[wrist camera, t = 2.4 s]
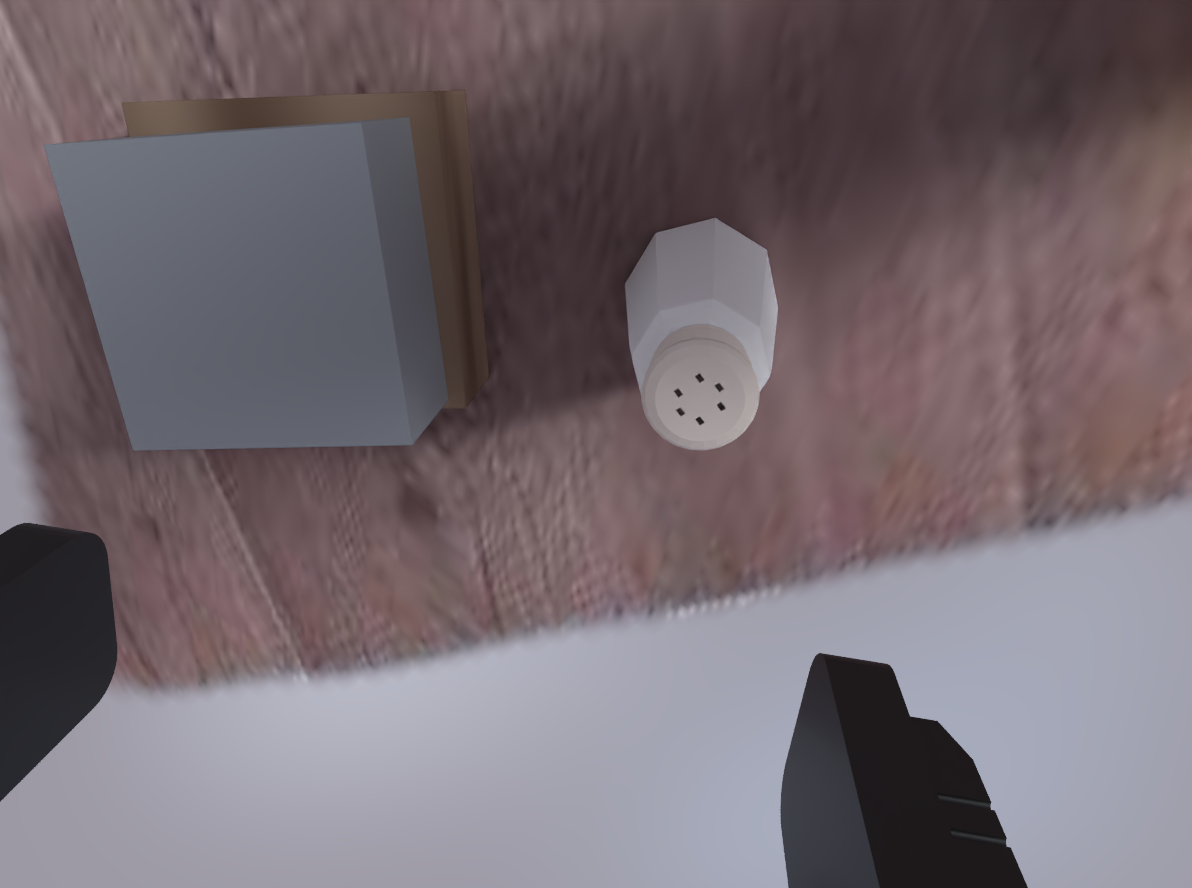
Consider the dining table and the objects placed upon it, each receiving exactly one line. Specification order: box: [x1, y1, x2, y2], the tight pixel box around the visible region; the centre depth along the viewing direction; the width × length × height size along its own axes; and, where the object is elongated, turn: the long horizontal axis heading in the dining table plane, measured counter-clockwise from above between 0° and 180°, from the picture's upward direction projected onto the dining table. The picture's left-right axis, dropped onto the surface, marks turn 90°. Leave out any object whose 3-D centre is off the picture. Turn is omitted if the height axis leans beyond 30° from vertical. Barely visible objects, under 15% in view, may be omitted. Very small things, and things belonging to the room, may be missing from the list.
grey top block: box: [44, 117, 449, 451], centre depth 26 cm, size 9×9×4 cm
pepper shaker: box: [625, 218, 778, 450], centre depth 25 cm, size 5×5×11 cm
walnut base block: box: [122, 90, 489, 409], centre depth 30 cm, size 10×10×4 cm
